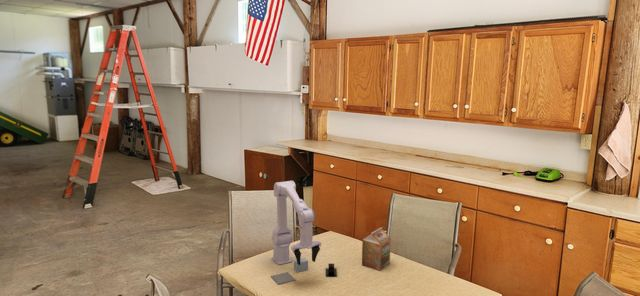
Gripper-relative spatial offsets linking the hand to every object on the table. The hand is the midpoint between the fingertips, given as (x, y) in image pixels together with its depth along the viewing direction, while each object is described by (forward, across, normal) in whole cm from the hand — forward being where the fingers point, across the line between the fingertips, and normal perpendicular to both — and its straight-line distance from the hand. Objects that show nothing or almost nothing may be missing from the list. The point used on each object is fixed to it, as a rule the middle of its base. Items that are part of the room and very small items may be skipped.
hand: (306, 262), depth 202 cm
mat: (+10, -9, +8) cm, 15 cm away
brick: (+10, +3, +14) cm, 17 cm away
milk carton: (+10, +41, +2) cm, 42 cm away
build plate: (+11, +16, +4) cm, 19 cm away
